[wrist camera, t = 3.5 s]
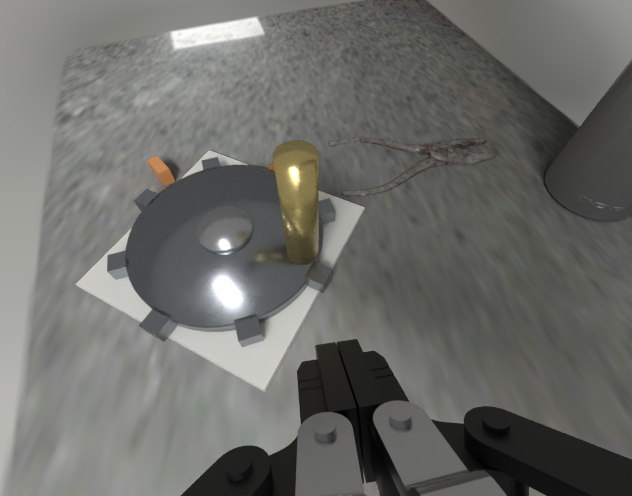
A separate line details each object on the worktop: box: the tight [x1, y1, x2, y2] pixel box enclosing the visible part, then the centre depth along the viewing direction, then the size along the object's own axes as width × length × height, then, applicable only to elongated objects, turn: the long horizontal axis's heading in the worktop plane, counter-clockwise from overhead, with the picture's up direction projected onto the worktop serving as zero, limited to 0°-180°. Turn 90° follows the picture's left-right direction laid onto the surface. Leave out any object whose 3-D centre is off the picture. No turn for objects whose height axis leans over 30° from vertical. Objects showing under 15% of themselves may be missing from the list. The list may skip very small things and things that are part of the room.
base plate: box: [76, 150, 365, 393], centre depth 33 cm, size 20×24×2 cm
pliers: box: [328, 137, 497, 196], centre depth 41 cm, size 10×1×20 cm
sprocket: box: [107, 140, 336, 347], centre depth 27 cm, size 21×21×12 cm
